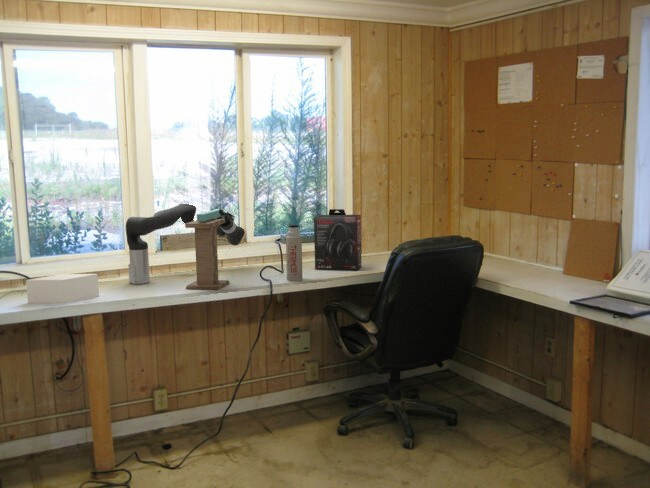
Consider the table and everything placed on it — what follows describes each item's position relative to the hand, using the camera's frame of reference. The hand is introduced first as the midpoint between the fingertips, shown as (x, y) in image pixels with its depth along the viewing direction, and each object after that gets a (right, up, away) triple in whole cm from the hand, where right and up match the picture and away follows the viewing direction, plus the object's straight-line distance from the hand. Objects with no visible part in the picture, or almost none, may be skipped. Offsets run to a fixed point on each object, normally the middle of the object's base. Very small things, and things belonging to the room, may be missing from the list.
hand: (216, 210), depth 330 cm
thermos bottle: (+39, -35, +3) cm, 53 cm away
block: (-63, -42, -33) cm, 83 cm away
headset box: (+62, -31, +33) cm, 77 cm away
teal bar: (-1, -4, -7) cm, 8 cm away
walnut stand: (-2, -37, -9) cm, 39 cm away
